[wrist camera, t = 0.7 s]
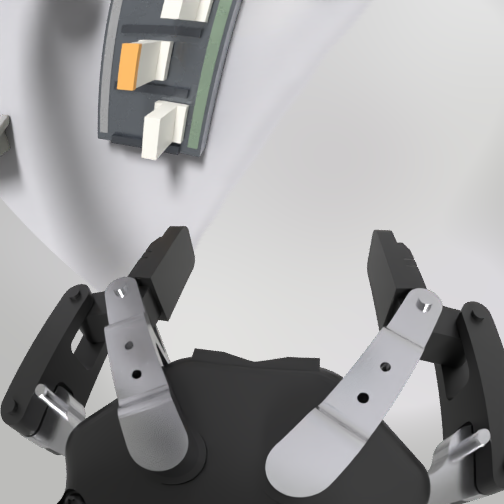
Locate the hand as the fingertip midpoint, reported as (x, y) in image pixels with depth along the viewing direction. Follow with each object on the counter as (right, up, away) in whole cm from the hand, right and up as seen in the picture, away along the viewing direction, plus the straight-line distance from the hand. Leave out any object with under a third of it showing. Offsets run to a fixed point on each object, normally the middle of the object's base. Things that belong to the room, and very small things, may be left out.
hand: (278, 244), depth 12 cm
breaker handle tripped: (-11, +20, +11) cm, 25 cm away
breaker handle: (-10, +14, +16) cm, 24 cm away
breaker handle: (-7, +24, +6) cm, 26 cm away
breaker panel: (-11, +22, +13) cm, 28 cm away
